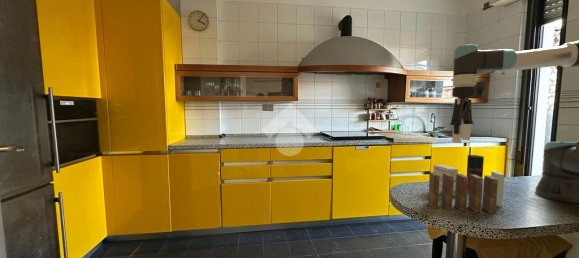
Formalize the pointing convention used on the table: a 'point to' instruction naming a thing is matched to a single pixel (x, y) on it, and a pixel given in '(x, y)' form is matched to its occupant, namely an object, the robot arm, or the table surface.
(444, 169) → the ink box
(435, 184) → the domino
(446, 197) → the domino
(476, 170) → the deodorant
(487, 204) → the domino
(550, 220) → the table surface
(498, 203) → the domino
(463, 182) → the domino
